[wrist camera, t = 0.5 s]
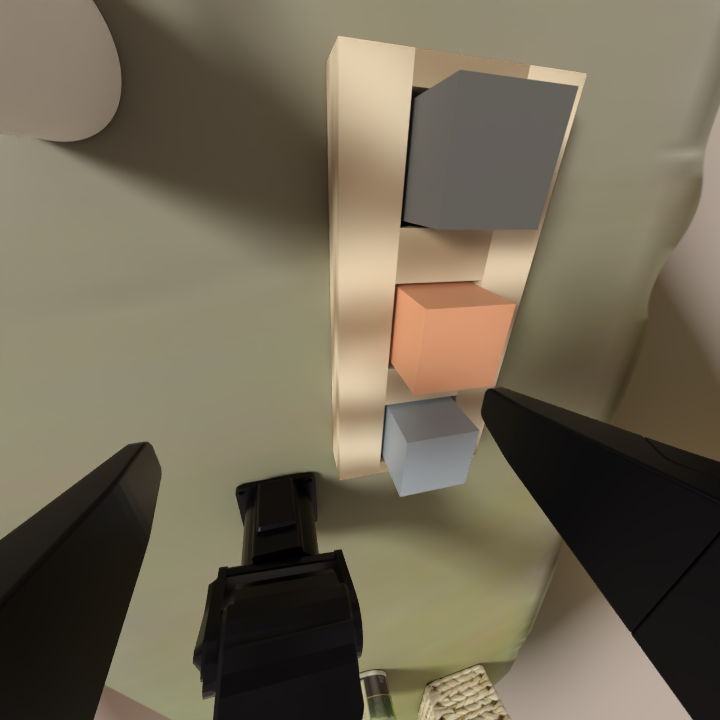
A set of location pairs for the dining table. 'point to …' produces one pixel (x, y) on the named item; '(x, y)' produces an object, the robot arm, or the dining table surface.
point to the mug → (56, 70)
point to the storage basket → (462, 698)
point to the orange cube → (447, 335)
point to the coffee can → (376, 696)
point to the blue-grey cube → (427, 444)
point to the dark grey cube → (483, 151)
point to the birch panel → (398, 233)
